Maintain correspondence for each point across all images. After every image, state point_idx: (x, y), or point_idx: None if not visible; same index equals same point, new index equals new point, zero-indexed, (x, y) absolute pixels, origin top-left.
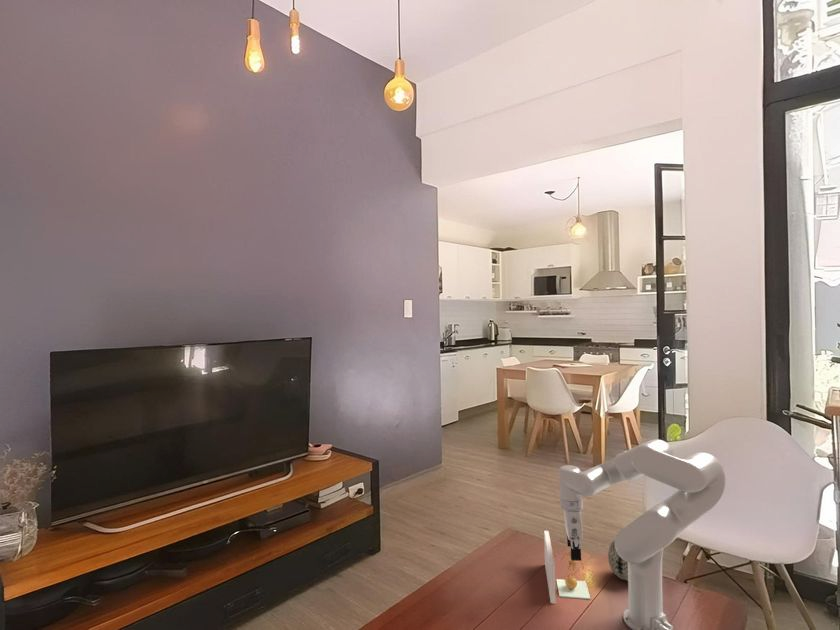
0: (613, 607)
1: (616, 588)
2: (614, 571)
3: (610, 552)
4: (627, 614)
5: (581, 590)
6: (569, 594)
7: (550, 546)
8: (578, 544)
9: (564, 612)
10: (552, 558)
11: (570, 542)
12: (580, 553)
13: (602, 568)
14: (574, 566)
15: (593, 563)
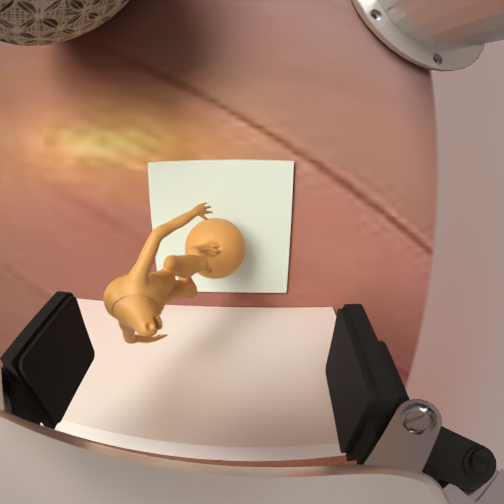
0: (343, 73)
1: (181, 27)
2: (107, 18)
3: (30, 15)
4: (414, 44)
5: (232, 193)
6: (273, 252)
7: (147, 441)
8: (494, 470)
9: (382, 281)
10: (308, 448)
11: (73, 363)
12: (378, 352)
13: (36, 85)
14: (192, 265)
15: (11, 122)
